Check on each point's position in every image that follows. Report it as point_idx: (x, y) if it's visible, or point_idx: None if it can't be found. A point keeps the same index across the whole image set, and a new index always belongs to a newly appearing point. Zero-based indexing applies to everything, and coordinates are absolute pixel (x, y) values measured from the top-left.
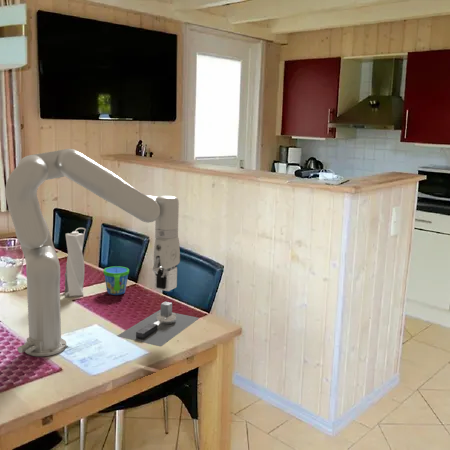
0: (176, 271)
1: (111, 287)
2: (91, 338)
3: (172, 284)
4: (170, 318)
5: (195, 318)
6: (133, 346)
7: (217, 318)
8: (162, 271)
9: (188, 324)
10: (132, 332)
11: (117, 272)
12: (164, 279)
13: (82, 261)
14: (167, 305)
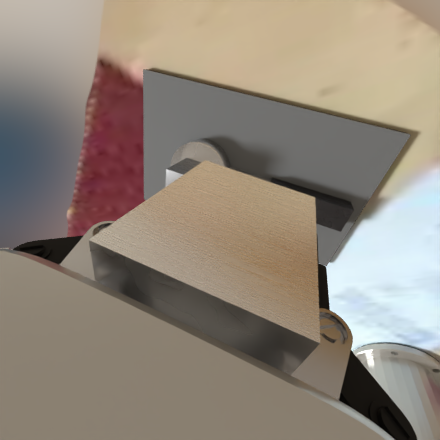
0: (141, 217)
1: None
2: (332, 305)
3: (253, 193)
4: (216, 154)
5: (152, 82)
6: (383, 218)
7: (109, 2)
8: (335, 396)
9: (203, 91)
10: None
11: None
12: (319, 286)
13: None
14: None
